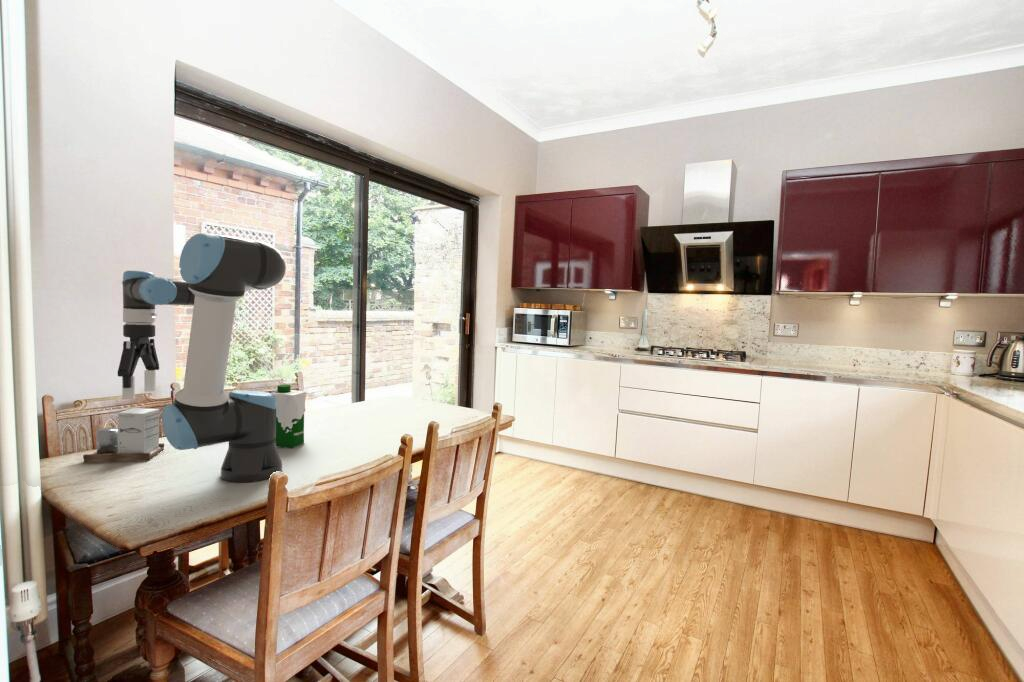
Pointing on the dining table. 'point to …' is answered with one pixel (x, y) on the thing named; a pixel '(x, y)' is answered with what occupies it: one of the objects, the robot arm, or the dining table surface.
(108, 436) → the grey rounded cube
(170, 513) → the dining table surface
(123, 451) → the supplement box
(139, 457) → the wooden tray
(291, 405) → the milk carton
